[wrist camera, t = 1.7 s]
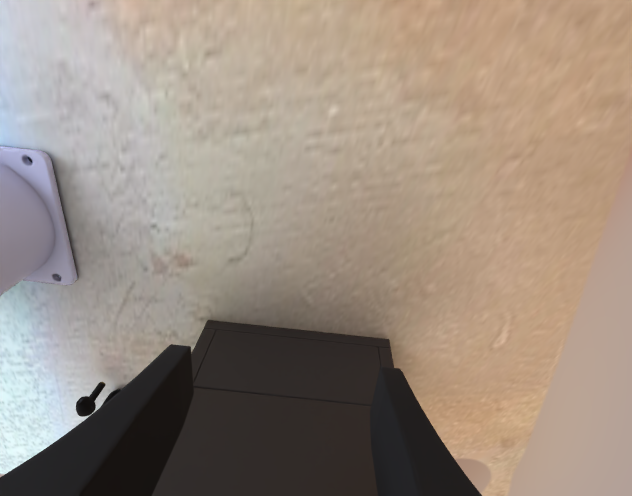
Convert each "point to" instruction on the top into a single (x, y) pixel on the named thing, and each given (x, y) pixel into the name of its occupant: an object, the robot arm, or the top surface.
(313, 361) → the case
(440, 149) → the top surface
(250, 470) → the case lid
